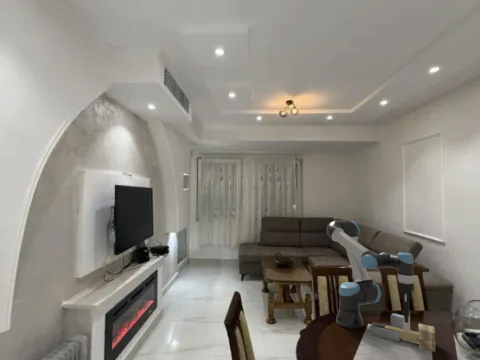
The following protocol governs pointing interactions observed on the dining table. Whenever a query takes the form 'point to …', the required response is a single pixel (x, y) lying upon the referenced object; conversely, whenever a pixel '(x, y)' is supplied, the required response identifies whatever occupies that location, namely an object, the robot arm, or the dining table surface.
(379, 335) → the guide channel
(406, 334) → the tan slab piece
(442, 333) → the dining table surface
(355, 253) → the robot arm
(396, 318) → the medicine box
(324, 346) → the dining table surface
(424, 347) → the socket block
